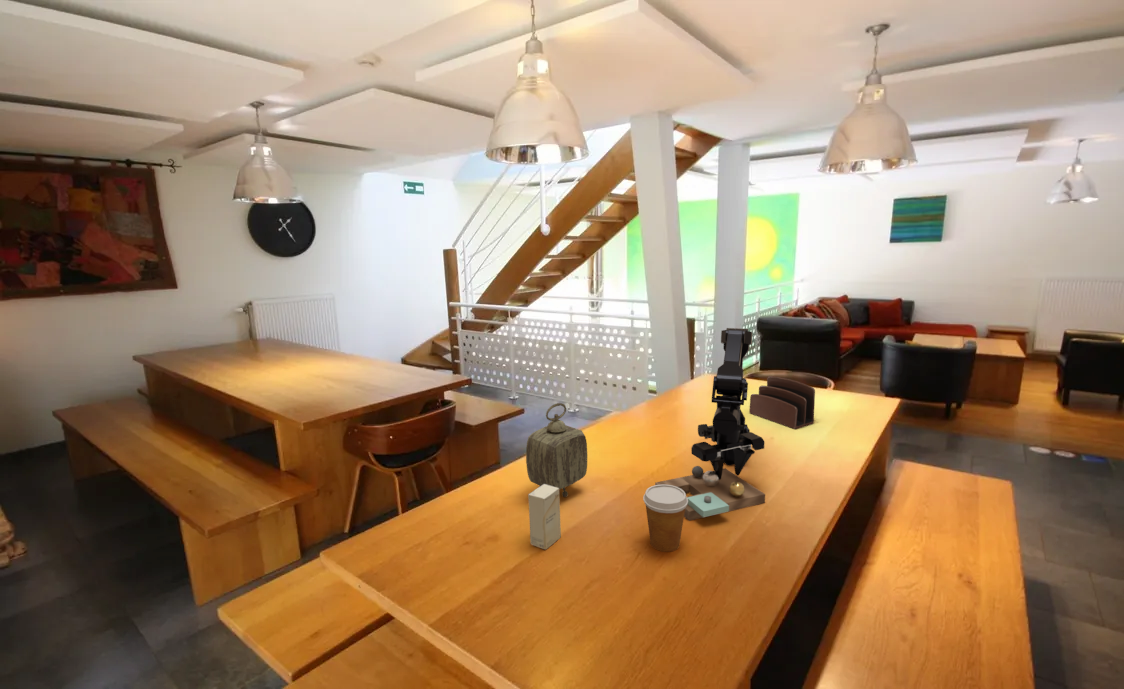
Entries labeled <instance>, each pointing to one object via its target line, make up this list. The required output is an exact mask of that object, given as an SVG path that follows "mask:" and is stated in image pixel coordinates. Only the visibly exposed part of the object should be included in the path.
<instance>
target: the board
mask: <svg viewBox="0 0 1124 689" xmlns="http://www.w3.org/2000/svg"><path fill="white" fill-rule="evenodd" d="M713 471H714V470H713ZM705 472H706V471H705ZM705 472H704V471H703V475H704V473H705ZM714 472H715V471H714ZM703 475H702V476H701V477H695V476H694V475H693V474H690V475H686V476H681V477H680V476H679V477H674V478H671V479H667V480H666V479H665V480H662V481H661V480H660V481H656V482H654V485H661V484H664V485H673V486H676V487H678V488H680V489H682V490H683V491H684V492H685V494H686V495H687V494H691V495H688V496H687V497H692V496H696V495H701V494H705V493H710V492H712V493H713V494H714V495H716V496H717V497H718V498H720V499H721V500H722V501H724V502H725V503H726V504H728V505H729V511H728V512H732V511H736V510H741V509H745V508H749V507H753V506H758V505H763V504H765V503H766V493H764V492H763V491H762V490H760V489H758V488H756V487H755V486H754V485H753V484H750V483H748V482H747V481H745V479H743V478H741V477H740V476H739V475H736V474H735V473H734V472H732V471H730V470H729V469H728V468H726V467H725V468H724V467H723V471H722V477H721V479H720V480H719V481H718V483H717V484H716V485H715V486H712V487H711V486H707V485H706V484H705V483H704V482H703ZM733 482H740V483H742V484H743V486H744V489H745V491H744V494H743V495H742V496H739V497H736V496H733V495H732V494H731V493H730V490H729V487H730V485H731V483H733ZM684 518H685V519H686V520H687V521H688V522H690V521H695V520H698V519H702V518H704V517H702V516H701V515H700V514H699V513H698V512H696V511H695V510H694V509H693V508H692V507H690V506H689V505H688V504H687V506H686V508H685V513H684Z"/></svg>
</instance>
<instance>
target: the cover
mask: <svg viewBox="0 0 1124 689" xmlns="http://www.w3.org/2000/svg"><path fill="white" fill-rule="evenodd" d="M691 496H692V497H688V496H686V497H687V498H688V505H689V506H690V507H692V508H693V509H694V510H695V511H696V512H698V513H699V514H700V515H701V516H702V517H703V518H706V517H710V516H715V515H720V514H724V513H727V512H728V513H729V512H730V511H729V505H728V504H726V503H725V502H724V501H722V500H721V499H720V498H718V497H717V496H716V495H714V494H713V493H712V492H710V493H705V494H701V495H696V496H693V495H691Z"/></svg>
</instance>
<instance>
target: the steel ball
mask: <svg viewBox="0 0 1124 689" xmlns="http://www.w3.org/2000/svg"><path fill="white" fill-rule="evenodd" d="M703 473H704V472H703ZM718 481H719V477H718V475H717V473H715V472H714V470H707V471H705V473H704V475H703V482H704V483H705V484H706V485H707V486H711V487H712V486H715V485H716V484H717V483H718Z"/></svg>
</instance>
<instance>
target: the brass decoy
mask: <svg viewBox="0 0 1124 689" xmlns="http://www.w3.org/2000/svg"><path fill="white" fill-rule="evenodd" d="M729 490H730V493H731V494H732V495H733V496H736V497H739V496H742V495H743V494H744V491H745V489H744V486H743V484H742V483H740V482H733V483H731V485H730V487H729Z"/></svg>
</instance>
